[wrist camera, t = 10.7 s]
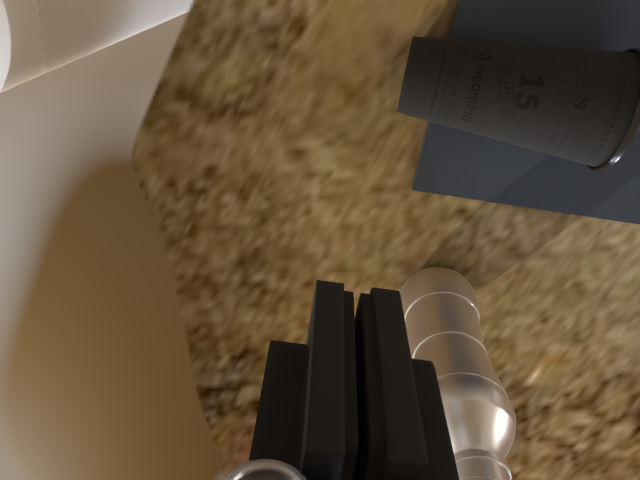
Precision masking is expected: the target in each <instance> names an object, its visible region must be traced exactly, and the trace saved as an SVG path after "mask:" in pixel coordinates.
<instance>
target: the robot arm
mask: <svg viewBox="0 0 640 480" xmlns="http://www.w3.org/2000/svg"><path fill="white" fill-rule="evenodd" d="M223 480H459V475H458V471H457V466H456V461H455V457H454V452H453V448H452V443H451V439H450V434H449V429H448V425H447V420H446V416H445V411H444V407H443V402H442V398H441V393H440V388H439V384H438V379H437V375H436V370H435V367H434V364H433V363H432V362H431V361H428V360H420V359H412V358H411V354H410V348H409V342H408V336H407V330H406V324H405V318H404V312H403V306H402V300H401V295H400V292H399V291H395V290H388V289H380V288H372V289H371V291H370V294H364V293H361V294H360V297H359V301H358V306H357V310H356V315H355V320H354V296H353V292H349V291H344V284H343V283H336V282H328V281H321V280H317V281H316V286H315V292H314V298H313V305H312V311H311V317H310V323H309V329H308V335H307V341H306V345H305V344H297V343H289V342H281V341H274V340H271V341H270V345H269V351H268V356H267V362H266V368H265V373H264V379H263V385H262V390H261V396H260V402H259V408H258V413H257V419H256V425H255V430H254V436H253V442H252V447H251V453H250V459H249V461H248V462H246V463H244V464H242V465H239V466H237V467H235V468H234V469H233V470H232V471H231V472H230V473H229V474H227V475H226V476H225V477H224V479H223Z"/></svg>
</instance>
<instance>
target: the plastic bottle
mask: <svg viewBox="0 0 640 480" xmlns="http://www.w3.org/2000/svg"><path fill="white" fill-rule="evenodd" d="M400 295H401V300H402V306H403V312H404V318H405V324H406V330H407V336H408V341H409V345H410V349H411V353H412V359H420V360H428V361H431V362H432V363H433V364H434V367H435V370H436V375H437V379H438V384H439V388H440V393H441V398H442V402H443V407H444V411H445V416H446V420H447V425H448V429H449V434H450V439H451V443H452V448H453V452H454V457H455V461H456V466H457V471H458V475H459V480H511V472H510V469H509V466H508V463H507V462H506V461H505V458H506V456H507V454H508V453H509V451H510V448H511V446H512V443H513V441H514V438H515V434H516V414H515V412H514V409H513V406H512V404H511V402H510V399H509V397H508V396H507V393H506V392H505V390H504V388H503V386H502V384H501V382H500V380H499V378H498V377H497V375H496V373H495V371H494V369H493V367H492V364H491V362H490V359H489V357H488V354H487V352H486V349H485V346H484V343H483V337H482V332H481V327H480V309H479V300H478V296H477V294H476V292H475V290H474V289H473V287H472V286H471V284H470V283H469V281H468V280H467V279H466V278H465V277H464V276H463V275H462V274H460V273H459V272H457V271H455V270H452V269H449V268H444V267H428V268H425V269H422V270H420V271H418V272H415V273H414V274H412V275H411V276H410V277H409V278H408V279H407V280H406V281H405V282H404V284H403V285H402V287H401V290H400Z"/></svg>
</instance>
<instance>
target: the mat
mask: <svg viewBox="0 0 640 480" xmlns="http://www.w3.org/2000/svg"><path fill="white" fill-rule="evenodd" d="M449 39H452V40H466V41H480V42H494V43H508V44H522V45H536V46H550V47H564V48H578V49H592V50H606V51H620V52H624V51H625V50H627V49H630V48H639V49H640V0H459V1H458V5H457V9H456V13H455V17H454V21H453V25H452V29H451V33H450V37H449ZM412 190H415V191H422V192H429V193H435V194H442V195H449V196H455V197H462V198H468V199H475V200H482V201H488V202H495V203H502V204H508V205H515V206H522V207H528V208H535V209H542V210H548V211H555V212H562V213H568V214H575V215H582V216H588V217H595V218H601V219H608V220H615V221H621V222H628V223H635V224H640V131H639V133H638V135H637V136H636V138H635V139H634V141H633V142H632V143H631V145H630V146H629V147H628V149H627V151H626V152H625V153H624V155H623V156H622V157H621V159H620V160H619V161H618V162H617V163H616V164H615V165H614V166H613V167H611V168H610V169H608V170H606V171H603V172H597V171H592V170H590V169H589V168H588V167H587V166H586V165H585V164H582V163H578V162H574V161H571V160H567V159H564V158H560V157H556V156H553V155H549V154H546V153H542V152H538V151H535V150H531V149H528V148H524V147H520V146H517V145H513V144H510V143H506V142H502V141H499V140H495V139H492V138H488V137H484V136H481V135H477V134H474V133H470V132H466V131H463V130H459V129H456V128H452V127H448V126H445V125H441V124H438V123H434V122H430V121H428V125H427V129H426V133H425V137H424V142H423V146H422V150H421V154H420V158H419V162H418V166H417V170H416V174H415V178H414V182H413V186H412Z"/></svg>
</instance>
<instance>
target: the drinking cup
mask: <svg viewBox="0 0 640 480" xmlns="http://www.w3.org/2000/svg"><path fill="white" fill-rule="evenodd" d="M397 112H398V113H402V114H405V115H409V116H412V117H416V118H420V119H423V120H427V121H430V122H434V123H438V124H441V125H445V126H448V127H452V128H456V129H459V130H463V131H466V132H470V133H474V134H477V135H481V136H484V137H488V138H492V139H495V140H499V141H502V142H506V143H510V144H513V145H517V146H520V147H524V148H528V149H531V150H535V151H538V152H542V153H546V154H549V155H553V156H556V157H560V158H564V159H567V160H571V161H574V162H578V163H582V164H585V165H586V166H587V167H588V168H589V169H590V170H592V171H597V172H603V171H606V170H608V169H610V168H611V167H613V166H614V165H615V164H616V163H617V162H618V161H619V160H620V159H621V157H622V156H623V155H624V153H625V152H626V151H627V149H628V147H629V146H630V145H631V143H632V142H633V141H634V139H635V138H636V136H637V135H638V133H639V131H640V49H639V48H630V49H627V50H625V51H624V52H620V51H606V50H592V49H578V48H564V47H550V46H536V45H522V44H508V43H494V42H480V41H466V40H452V39H438V38H424V37H413V38H412V42H411V47H410V51H409V56H408V61H407V65H406V70H405V75H404V80H403V84H402V89H401V94H400V99H399V104H398V109H397Z"/></svg>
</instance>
